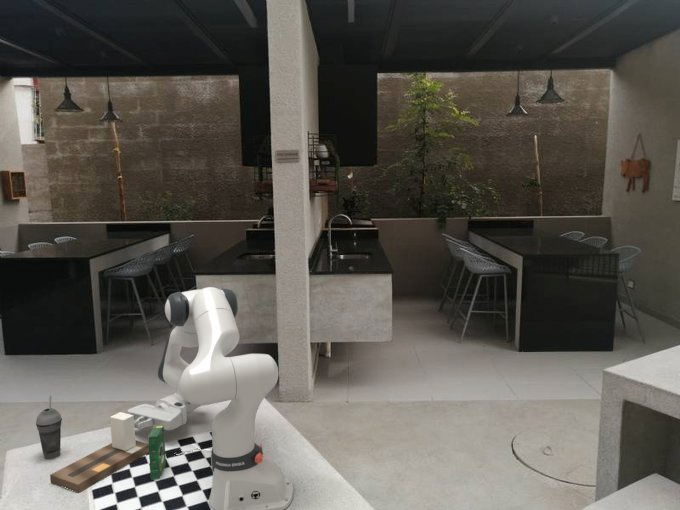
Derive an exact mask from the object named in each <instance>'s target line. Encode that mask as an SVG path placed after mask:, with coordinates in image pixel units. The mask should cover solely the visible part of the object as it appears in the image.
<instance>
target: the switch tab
mask: <svg viewBox="0 0 680 510" xmlns="http://www.w3.org/2000/svg"><path fill="white" fill-rule="evenodd" d="M109 421H110V423H109V424H110V436H111V443H112V447H114V448H117V449H121V450H124V451H127V450H128V449H130V448H132V447H134V446H136V430H135V429H136V428H135V426H134V415H130V414H127V412H126V413H125V412H122V411H120V412H116V414H114V415H111V416H109Z"/></svg>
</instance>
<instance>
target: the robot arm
mask: <svg viewBox="0 0 680 510" xmlns="http://www.w3.org/2000/svg"><path fill="white" fill-rule="evenodd" d="M238 311H239V301H238V297H237V295H236V293H235V292H234V290H232V289H230V288H229V289H228V288H221V289H220V288H217V287H213V286H208V287H203V288H201V289H192V290H187V291H186V290H185V291H182V292H181V291H177V292H176V291H175V292H174V293H171V294H170V295H169V296H168V297H167V298H166V302H165V305H164V313H165V317H166V318H167V320H168V323H169V324H171V326H172V327H171V329H170V330H169V333H168V334H167V338H166V341H165V346H164V349H163V354H162V358H161V361H160V363H159V364H158V365H159V366H158V367H157V377H158V379H159V380H160V381H162V382H163V383H164V384H167V385H169V386H170V387H172V388H173V389H174V390H175V392H174V393H172V394H169V395H167V396H165V397H163V398H160V399H158V400H157V401H156V403H155V405H152V404H148V403H142V404H139V405H136V406H133V407H130V408H128V409H127V411H126V414H130V415H134V426H135V429H138V430H141V429H143V428H148V427H153V428H154V427H155V426H158V425H163V426H164V431H174V430H175V429H177V428H179V427H181V426H183V425H185V424H187V415H188V414H190V413H192V412H194V411H196V409H199V408H200V406H202V405H211V404H215V403H222V402H227V401H230V402H229V403H228V405H226V407H225V408H224V409H222V410H221V411H219V413H218V414H216V416H215V417H214V419H213V421H212V422H211V439H212V442H211V444H212V447H211V448H212V451H211V452H210V462H211V463H210V464H211V465H210V466H211V470H212V481H211V482H212V483H211V489H210V490H211V491H210V495H209V498H208V503H209V505H210V507H212V509H214V510H286V509H287V508H288V507H289V506H290V505H291V503H292V501H293V497H294V487H293V484H292V481H291V480H290V479H288V478H286V477H285V476H284V472H283V470H282V468H281V467H280V465H279V464H277V463H275V462H273V461H272V460H269V459H268V458H266V457H264V455H263V454H264V453H263V451H264V449H263V445H262V443H259V445H258V444H257V443H256V442H255V426H256V416H257V412H258V410H259V408H260V406H261V404H262V402H263V400H264V398H265V397H266V396H267V395H268V394H269V393H270V392H271V391H272V390H273V389H274V388H275V386H276V385H277V382H278V380H279V368H278V365H277V361H275V359H274V358H273V357H272V356H271V355H270V354H268V353H267V354H266V353H247V354H241V355H235V356H227V355H228V354H230V353H231V352H233V350H235V348H236V347H237V345H238V343H239V342H240V332H239V328H238V326H237V323H236V319H235V318H236V316H238ZM182 347H183V348H191V349H192V348H196V347H198V350H197V354H196V356H195V358H194V359H193V361H191V363H188V362H187V361H185V360H184V359H183V358H182V356H181V350H182Z"/></svg>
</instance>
